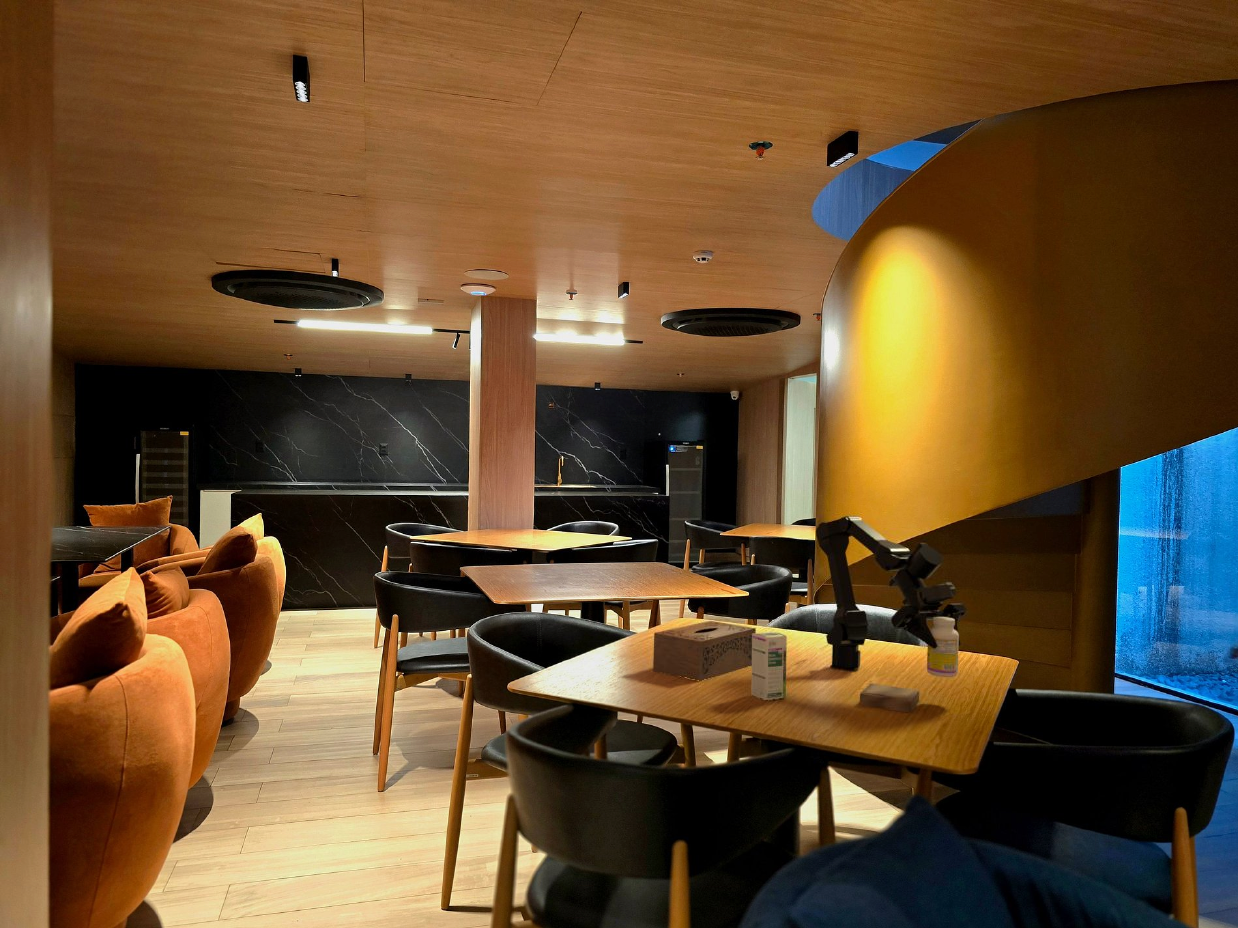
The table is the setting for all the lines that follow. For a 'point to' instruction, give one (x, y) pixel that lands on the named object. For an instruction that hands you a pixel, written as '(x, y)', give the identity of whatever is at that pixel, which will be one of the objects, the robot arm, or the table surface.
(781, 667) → the syrup box
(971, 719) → the table surface
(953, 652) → the supplement bottle
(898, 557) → the robot arm
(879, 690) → the plinth
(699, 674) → the tissue box cover
